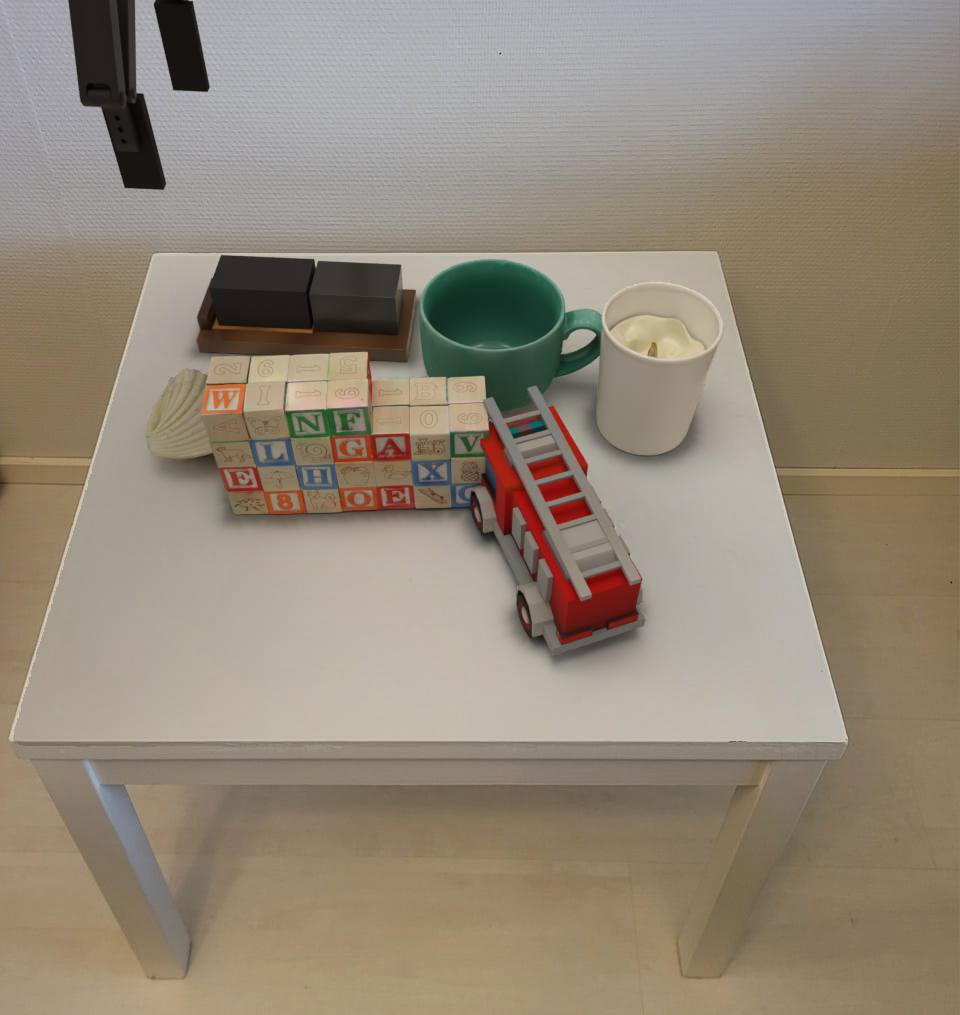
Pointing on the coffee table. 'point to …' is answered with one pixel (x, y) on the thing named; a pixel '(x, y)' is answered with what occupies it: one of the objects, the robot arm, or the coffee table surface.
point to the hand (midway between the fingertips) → (170, 135)
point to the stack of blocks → (341, 435)
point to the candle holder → (653, 364)
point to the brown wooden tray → (330, 317)
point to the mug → (501, 329)
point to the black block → (263, 292)
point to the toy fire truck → (554, 531)
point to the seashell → (179, 418)
